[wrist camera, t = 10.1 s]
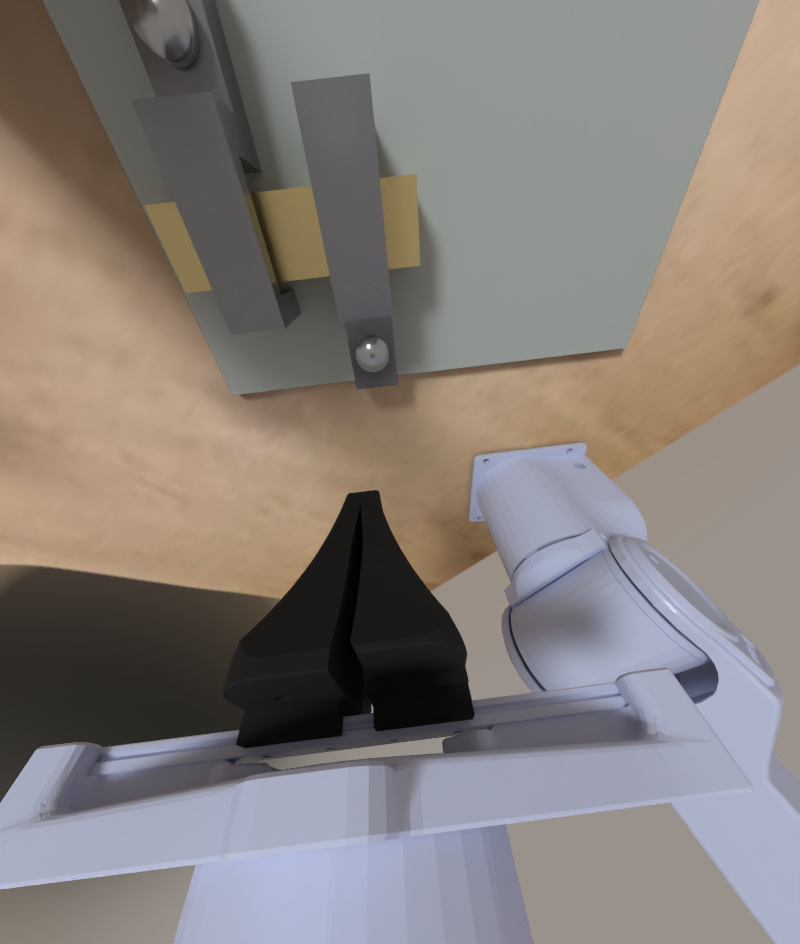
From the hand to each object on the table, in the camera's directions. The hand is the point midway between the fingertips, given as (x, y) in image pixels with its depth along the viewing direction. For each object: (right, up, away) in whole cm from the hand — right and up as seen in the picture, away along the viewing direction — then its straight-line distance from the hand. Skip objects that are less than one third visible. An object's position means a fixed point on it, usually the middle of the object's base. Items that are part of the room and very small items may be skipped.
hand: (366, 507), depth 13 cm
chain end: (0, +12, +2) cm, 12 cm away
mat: (+3, +14, +2) cm, 15 cm away
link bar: (-3, +13, +1) cm, 14 cm away
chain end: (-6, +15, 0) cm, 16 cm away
